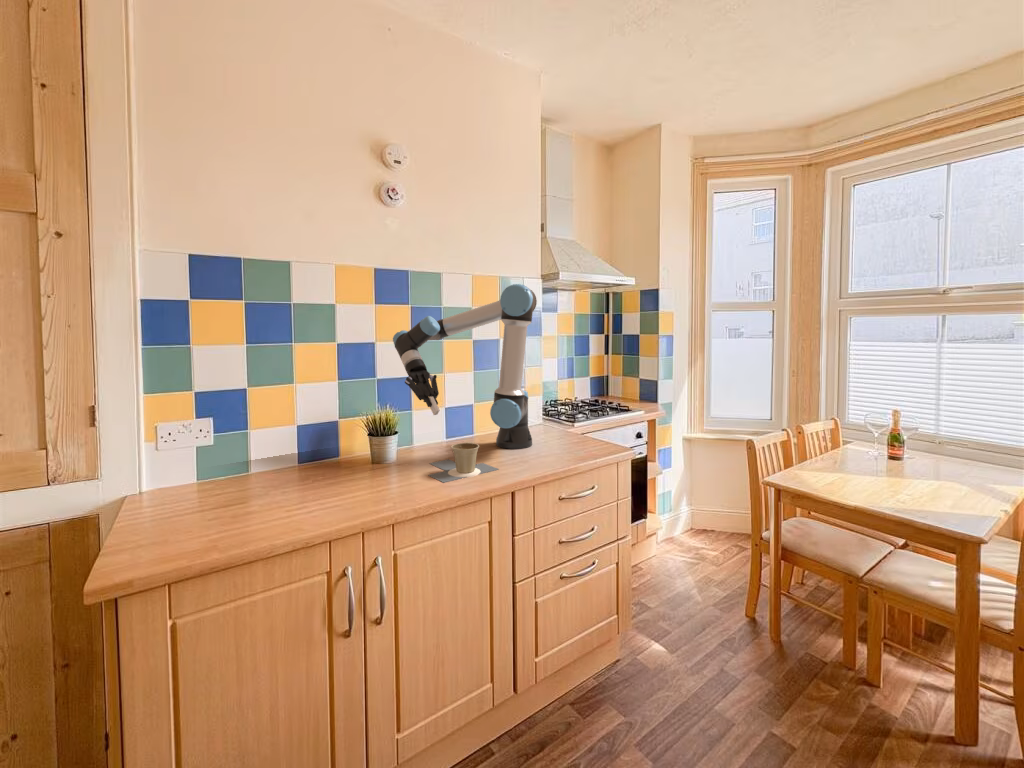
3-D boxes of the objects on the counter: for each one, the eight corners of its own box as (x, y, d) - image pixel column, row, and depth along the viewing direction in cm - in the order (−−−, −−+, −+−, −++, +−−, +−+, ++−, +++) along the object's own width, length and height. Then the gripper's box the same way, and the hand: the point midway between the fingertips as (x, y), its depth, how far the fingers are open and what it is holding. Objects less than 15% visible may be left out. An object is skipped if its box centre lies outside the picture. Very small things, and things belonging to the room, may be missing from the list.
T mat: (411, 467, 163) (411, 466, 163) (464, 456, 176) (464, 455, 176) (444, 483, 145) (444, 482, 145) (500, 470, 159) (500, 469, 159)
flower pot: (479, 466, 163) (478, 442, 162) (480, 474, 153) (479, 448, 152) (452, 467, 162) (451, 443, 161) (451, 475, 152) (450, 449, 151)
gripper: (426, 369, 186) (448, 416, 175) (395, 372, 178) (417, 421, 167) (432, 357, 181) (455, 404, 170) (400, 358, 173) (423, 408, 162)
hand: (436, 412), depth 168 cm, fingers closed
